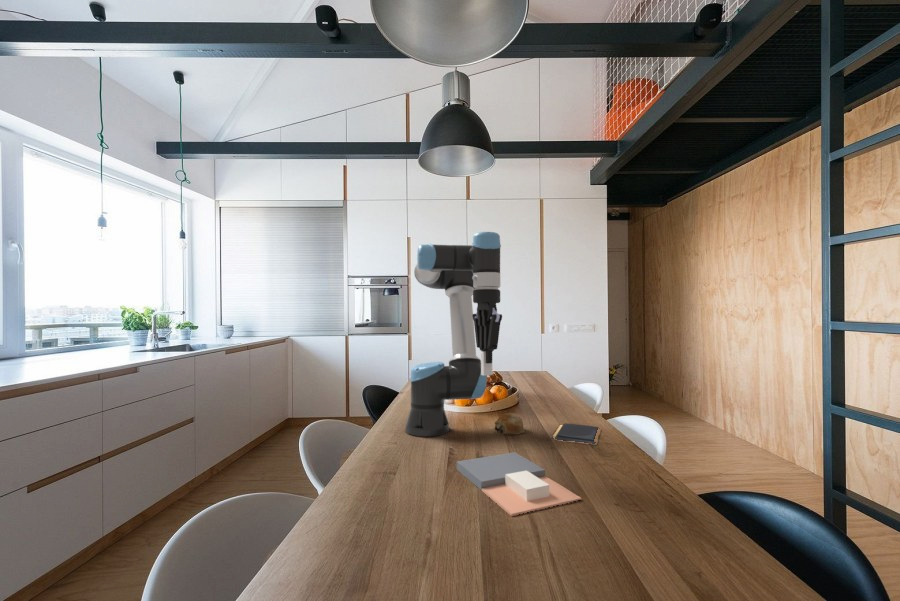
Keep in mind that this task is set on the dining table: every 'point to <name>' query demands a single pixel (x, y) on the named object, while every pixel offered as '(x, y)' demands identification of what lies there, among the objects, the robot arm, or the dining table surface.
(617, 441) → the dining table surface
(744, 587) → the dining table surface
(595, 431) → the dark grey book
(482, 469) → the grey slab
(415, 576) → the dining table surface
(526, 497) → the tile
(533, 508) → the mat
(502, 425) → the bread roll
